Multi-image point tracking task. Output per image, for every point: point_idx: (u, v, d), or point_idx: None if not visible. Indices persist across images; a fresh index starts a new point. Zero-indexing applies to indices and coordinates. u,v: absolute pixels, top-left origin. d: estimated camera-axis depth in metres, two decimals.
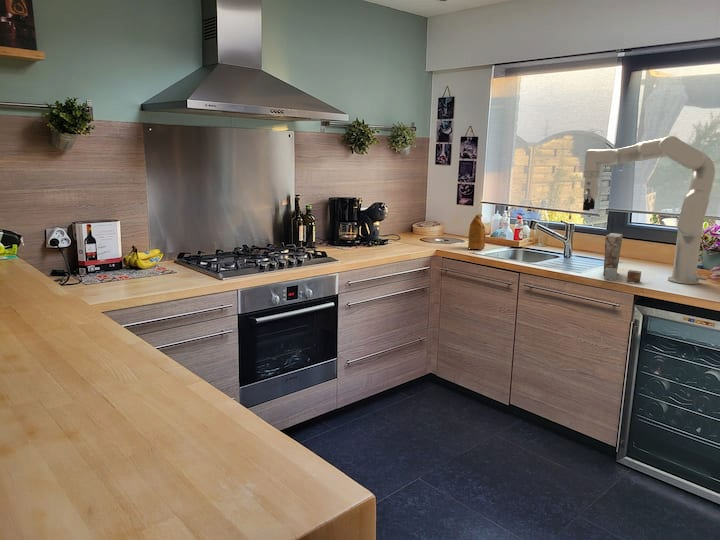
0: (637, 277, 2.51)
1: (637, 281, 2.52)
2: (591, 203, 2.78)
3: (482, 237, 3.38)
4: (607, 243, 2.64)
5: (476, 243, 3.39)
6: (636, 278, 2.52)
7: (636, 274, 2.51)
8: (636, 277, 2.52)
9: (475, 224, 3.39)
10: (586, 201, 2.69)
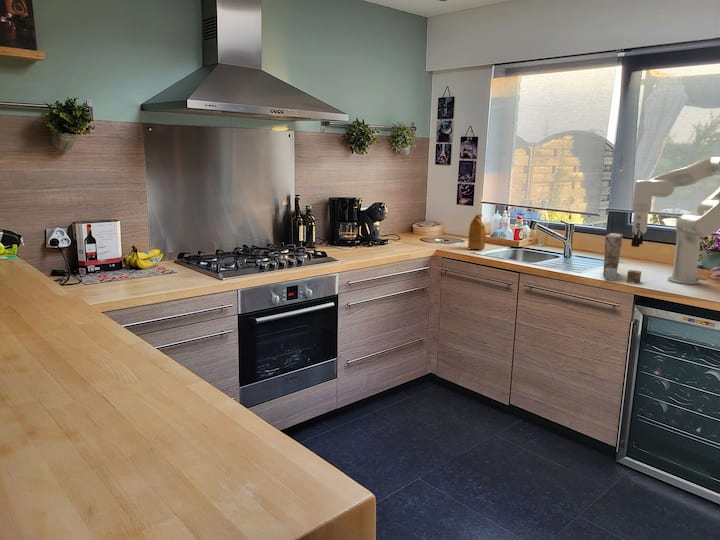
0: (637, 277, 2.51)
1: (637, 281, 2.52)
2: (639, 238, 2.54)
3: (482, 237, 3.38)
4: (607, 243, 2.64)
5: (476, 243, 3.39)
6: (636, 278, 2.52)
7: (636, 274, 2.51)
8: (636, 277, 2.52)
9: (475, 224, 3.39)
10: (635, 237, 2.45)
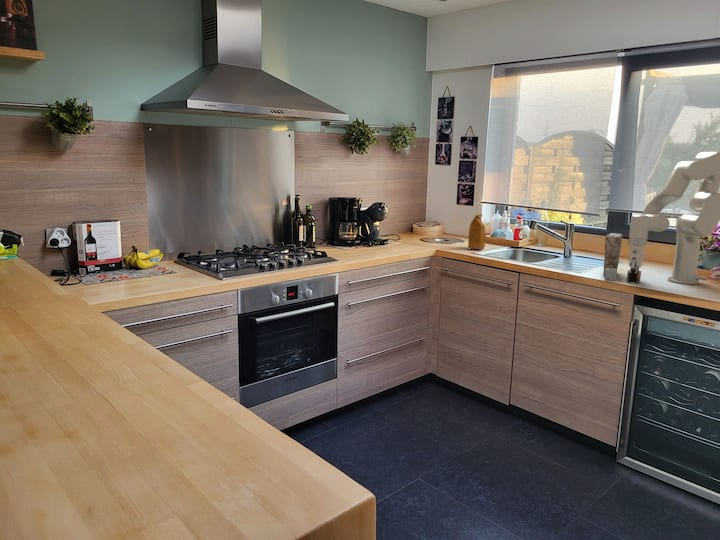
0: (637, 277, 2.51)
1: (637, 281, 2.52)
2: None
3: (482, 237, 3.38)
4: (607, 243, 2.64)
5: (476, 243, 3.39)
6: None
7: None
8: None
9: (475, 224, 3.39)
10: (632, 272, 2.50)
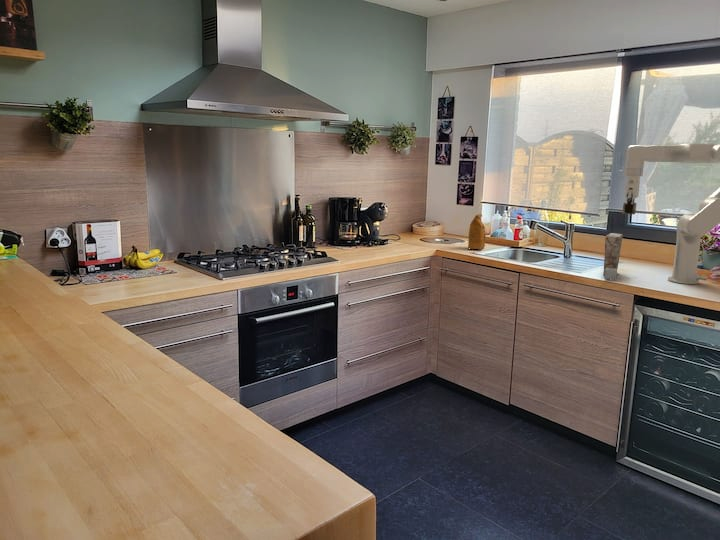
0: (633, 208, 2.53)
1: (633, 212, 2.53)
2: None
3: (482, 237, 3.38)
4: (607, 243, 2.64)
5: (476, 243, 3.39)
6: None
7: None
8: None
9: (475, 224, 3.39)
10: (629, 203, 2.52)
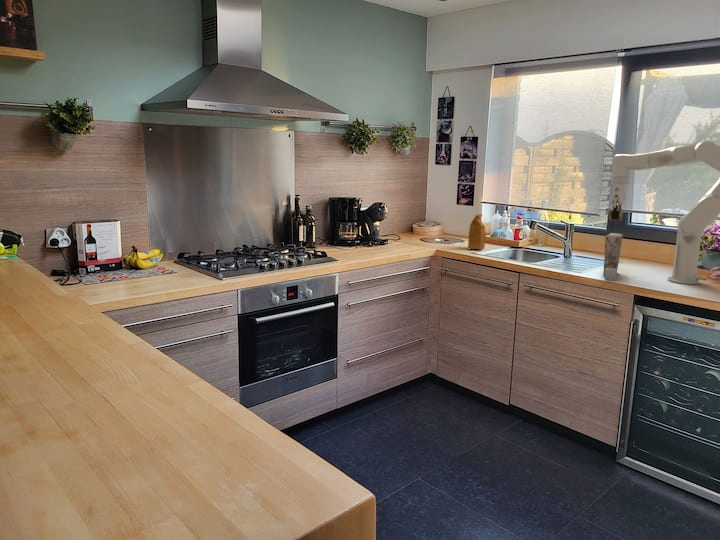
0: (619, 214, 2.62)
1: (619, 218, 2.63)
2: None
3: (482, 237, 3.38)
4: (607, 243, 2.64)
5: (476, 243, 3.39)
6: None
7: None
8: None
9: (475, 224, 3.39)
10: (615, 210, 2.62)
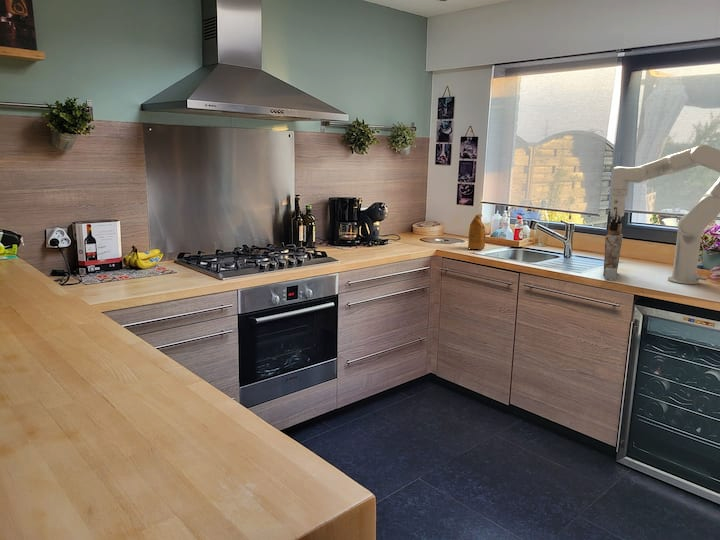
0: (618, 229, 2.64)
1: (618, 233, 2.64)
2: None
3: (482, 237, 3.38)
4: (607, 243, 2.64)
5: (476, 243, 3.39)
6: (617, 230, 2.64)
7: None
8: (617, 229, 2.64)
9: (475, 224, 3.39)
10: (613, 221, 2.62)
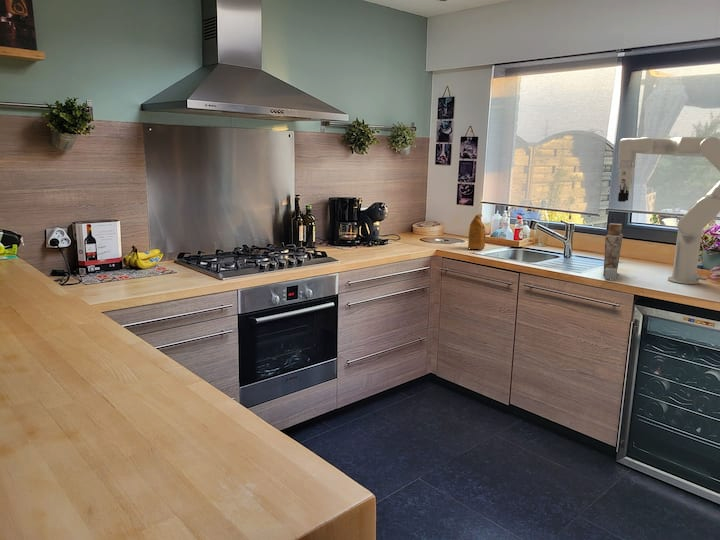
0: (618, 229, 2.64)
1: (618, 233, 2.64)
2: None
3: (482, 237, 3.38)
4: (607, 243, 2.64)
5: (476, 243, 3.39)
6: (617, 230, 2.64)
7: (617, 226, 2.64)
8: (617, 229, 2.64)
9: (475, 224, 3.39)
10: (622, 192, 2.59)
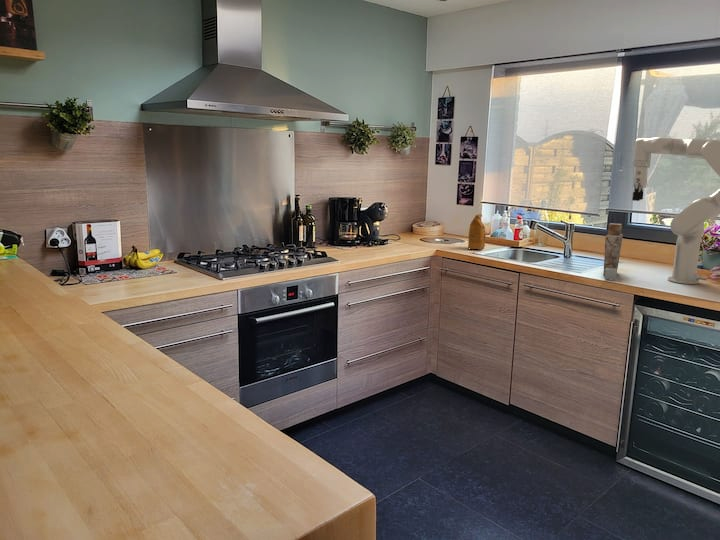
0: (618, 229, 2.64)
1: (618, 233, 2.64)
2: (640, 193, 2.72)
3: (482, 237, 3.38)
4: (607, 243, 2.64)
5: (476, 243, 3.39)
6: (617, 230, 2.64)
7: (617, 226, 2.64)
8: (617, 229, 2.64)
9: (475, 224, 3.39)
10: (636, 191, 2.63)
